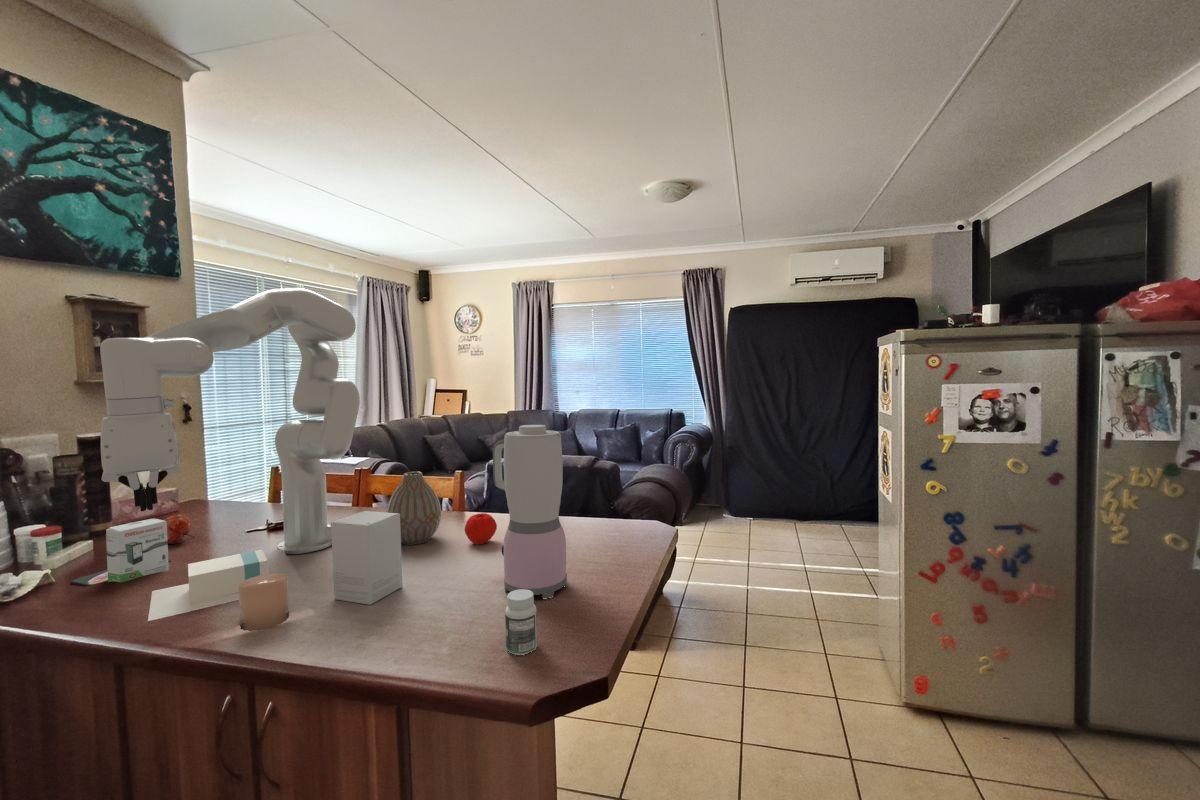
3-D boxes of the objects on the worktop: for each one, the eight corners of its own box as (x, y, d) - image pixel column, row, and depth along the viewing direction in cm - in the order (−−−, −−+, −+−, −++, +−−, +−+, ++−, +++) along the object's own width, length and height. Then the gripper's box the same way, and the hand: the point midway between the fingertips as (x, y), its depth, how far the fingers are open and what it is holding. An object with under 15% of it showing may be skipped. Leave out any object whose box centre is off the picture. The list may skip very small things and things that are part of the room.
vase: (395, 534, 136) (393, 469, 135) (446, 531, 137) (444, 467, 136) (380, 550, 122) (377, 479, 122) (435, 548, 124) (433, 477, 123)
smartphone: (173, 559, 117) (91, 585, 103) (173, 563, 117) (91, 589, 103) (151, 556, 119) (68, 580, 105) (151, 559, 119) (68, 584, 105)
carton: (189, 589, 98) (263, 573, 106) (190, 604, 92) (268, 585, 99) (188, 563, 98) (262, 549, 106) (188, 576, 91) (267, 560, 99)
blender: (578, 581, 102) (576, 424, 101) (546, 606, 91) (543, 430, 90) (514, 569, 109) (511, 421, 108) (477, 591, 98) (473, 427, 97)
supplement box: (404, 586, 101) (402, 512, 100) (370, 606, 92) (367, 525, 92) (368, 581, 104) (365, 509, 103) (332, 599, 95) (329, 521, 95)
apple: (493, 548, 123) (492, 518, 123) (460, 548, 123) (460, 518, 123) (500, 537, 131) (499, 509, 131) (469, 538, 131) (468, 509, 131)
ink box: (121, 588, 102) (117, 531, 101) (107, 585, 104) (103, 528, 103) (170, 573, 110) (167, 519, 109) (156, 570, 112) (153, 517, 111)
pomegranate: (181, 545, 136) (141, 530, 129) (201, 520, 138) (163, 505, 132) (188, 554, 131) (147, 539, 124) (209, 528, 134) (170, 512, 127)
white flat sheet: (258, 574, 108) (257, 568, 108) (267, 599, 96) (267, 592, 96) (152, 597, 98) (152, 591, 98) (148, 628, 85) (147, 621, 85)
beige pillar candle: (285, 607, 92) (283, 570, 92) (292, 621, 87) (290, 581, 87) (238, 620, 88) (236, 580, 88) (242, 635, 82) (240, 593, 82)
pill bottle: (514, 638, 80) (513, 586, 80) (542, 642, 79) (541, 589, 79) (500, 654, 76) (499, 599, 75) (529, 659, 74) (528, 602, 74)
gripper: (190, 403, 97) (199, 496, 99) (79, 410, 88) (91, 513, 89) (190, 405, 91) (200, 505, 93) (72, 413, 82) (85, 523, 84)
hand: (147, 508), depth 91 cm, fingers closed
